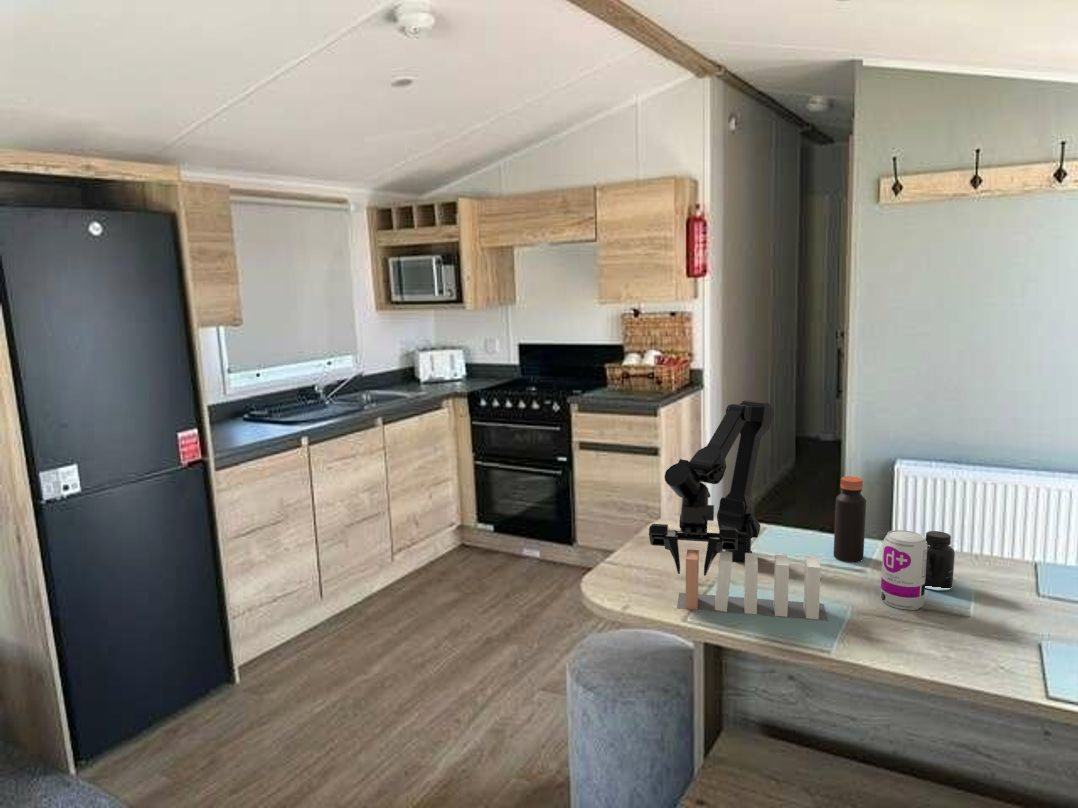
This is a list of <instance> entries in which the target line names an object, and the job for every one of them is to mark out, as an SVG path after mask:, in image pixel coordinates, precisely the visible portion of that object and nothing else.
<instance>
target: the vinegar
mask: <svg viewBox="0 0 1078 808" xmlns="http://www.w3.org/2000/svg"><path fill="white" fill-rule="evenodd" d="M863 485H864V480H863V479H862V478H861V477H858V476H842V477H841V478H840V490H841V492H840V493H839V494H838V495H837V496H836V498H835V508H834V509H835V511H834V535H833V536H834V537H833V557H834V558H835V559H836V560H838V561H840V562H844V563H853V562H854V563H859V562H858V561H860V562H861V560H862V561H863V560H864V556H865V555H864V552H865V551H864V549H865V533H866V531H865V530H866V509H867V500H866V498H865V497H864V496H863V495H862V491H863Z"/></svg>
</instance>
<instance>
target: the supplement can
mask: <svg viewBox="0 0 1078 808" xmlns="http://www.w3.org/2000/svg"><path fill="white" fill-rule="evenodd" d="M882 543H883V544H882V557H881V558H882V561H881V581H880V596H879V598H880V599H881V601H882V602H884V603H885V604H886V605H888V606H890V607H892V608H896V609H899V610H911V611H917V610H919V609H920V608H922V607H923V606H924V603H925V591H926V588H925V576H926V560H927V542H926V541H925V536H924V535H923V534H921V533H919V532H916V531H911V530H904V529H897V530H894V529H893V530H889V531H888V532H887V534H886V535H885V537H884V539H883V542H882Z"/></svg>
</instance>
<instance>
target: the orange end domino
mask: <svg viewBox="0 0 1078 808" xmlns="http://www.w3.org/2000/svg"><path fill="white" fill-rule="evenodd" d="M699 552H700V549H688V548H687V551H686V554H685V555H686V557H685V593H686V609H685V610H690V609H696V610H695V611H698V610H697V606H698V594H699V572H700V571H699V567H700V565H699V559H700V558H699Z"/></svg>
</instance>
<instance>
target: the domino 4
mask: <svg viewBox="0 0 1078 808" xmlns="http://www.w3.org/2000/svg"><path fill="white" fill-rule="evenodd" d="M821 569H822V568H821V564H820V561H819V557H817V556H816V557H815V556H805V557H804V579H803V581H804V583H803V602H804V605H803V607H804V611H805V616H806V618H808V619H807V620H812V619H819V603H820V590H821V589H820V588H821Z"/></svg>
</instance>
